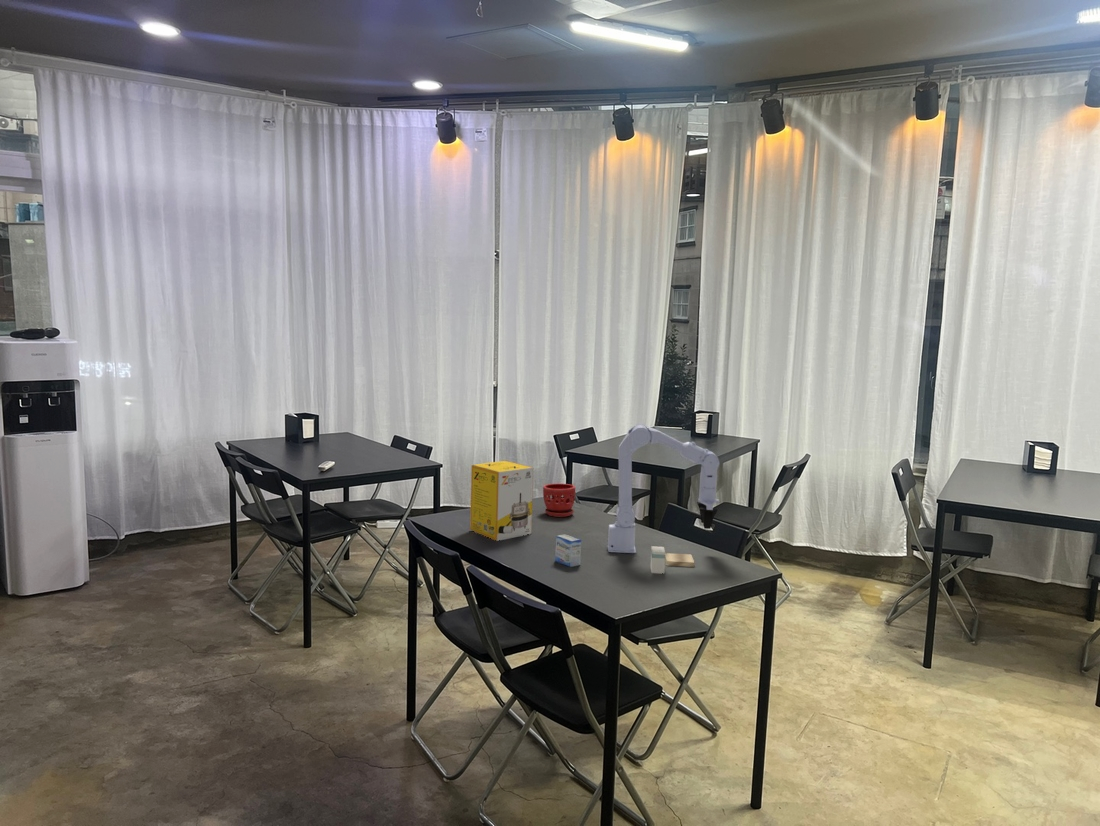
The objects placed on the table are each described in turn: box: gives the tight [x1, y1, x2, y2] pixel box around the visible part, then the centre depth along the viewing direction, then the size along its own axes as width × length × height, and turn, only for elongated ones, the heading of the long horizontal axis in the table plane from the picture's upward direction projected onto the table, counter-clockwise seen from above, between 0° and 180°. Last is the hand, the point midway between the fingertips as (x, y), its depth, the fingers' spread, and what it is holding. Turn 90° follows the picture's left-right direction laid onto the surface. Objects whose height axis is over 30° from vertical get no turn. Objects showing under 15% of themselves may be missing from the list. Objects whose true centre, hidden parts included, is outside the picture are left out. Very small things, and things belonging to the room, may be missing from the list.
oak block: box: [665, 552, 695, 568], centre depth 265 cm, size 9×9×2 cm
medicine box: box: [554, 533, 582, 568], centre depth 260 cm, size 8×4×9 cm, turn 40°
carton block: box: [649, 545, 666, 575], centre depth 255 cm, size 4×6×7 cm
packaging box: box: [469, 460, 534, 542], centre depth 293 cm, size 16×16×25 cm
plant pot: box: [542, 483, 576, 518], centre depth 323 cm, size 13×13×12 cm
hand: (705, 525), depth 274 cm, fingers open, 7 cm apart
